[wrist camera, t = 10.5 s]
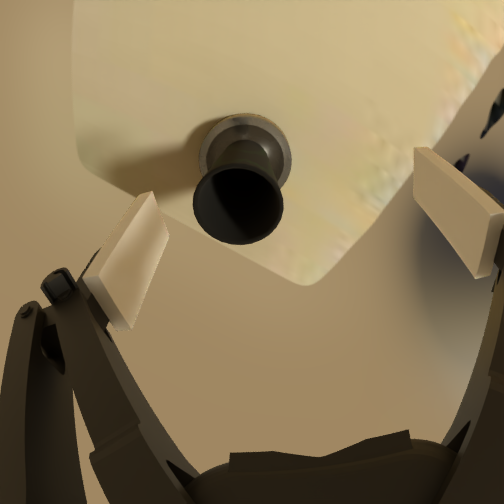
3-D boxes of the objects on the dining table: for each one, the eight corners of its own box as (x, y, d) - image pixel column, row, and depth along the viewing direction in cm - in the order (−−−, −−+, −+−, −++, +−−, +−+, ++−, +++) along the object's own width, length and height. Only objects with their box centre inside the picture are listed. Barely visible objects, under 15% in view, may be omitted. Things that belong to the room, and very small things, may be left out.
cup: (270, 196, 39) (273, 251, 29) (209, 186, 38) (189, 238, 28) (283, 137, 34) (292, 172, 25) (217, 126, 34) (197, 157, 24)
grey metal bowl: (192, 125, 36) (187, 130, 34) (280, 105, 35) (281, 108, 33) (215, 202, 42) (213, 211, 40) (296, 186, 41) (298, 194, 39)
